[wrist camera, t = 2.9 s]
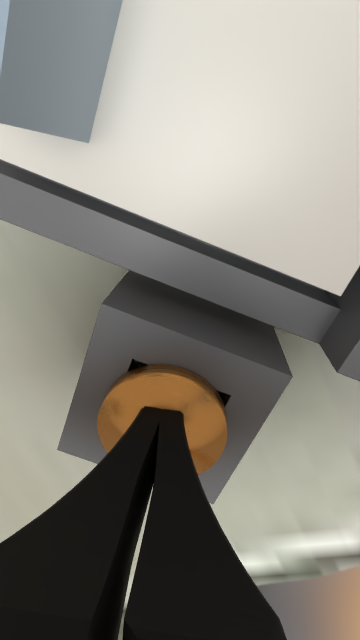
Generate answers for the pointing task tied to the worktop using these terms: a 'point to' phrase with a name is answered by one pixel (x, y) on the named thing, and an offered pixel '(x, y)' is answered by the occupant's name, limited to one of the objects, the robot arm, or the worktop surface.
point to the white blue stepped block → (198, 118)
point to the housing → (182, 314)
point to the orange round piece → (167, 393)
